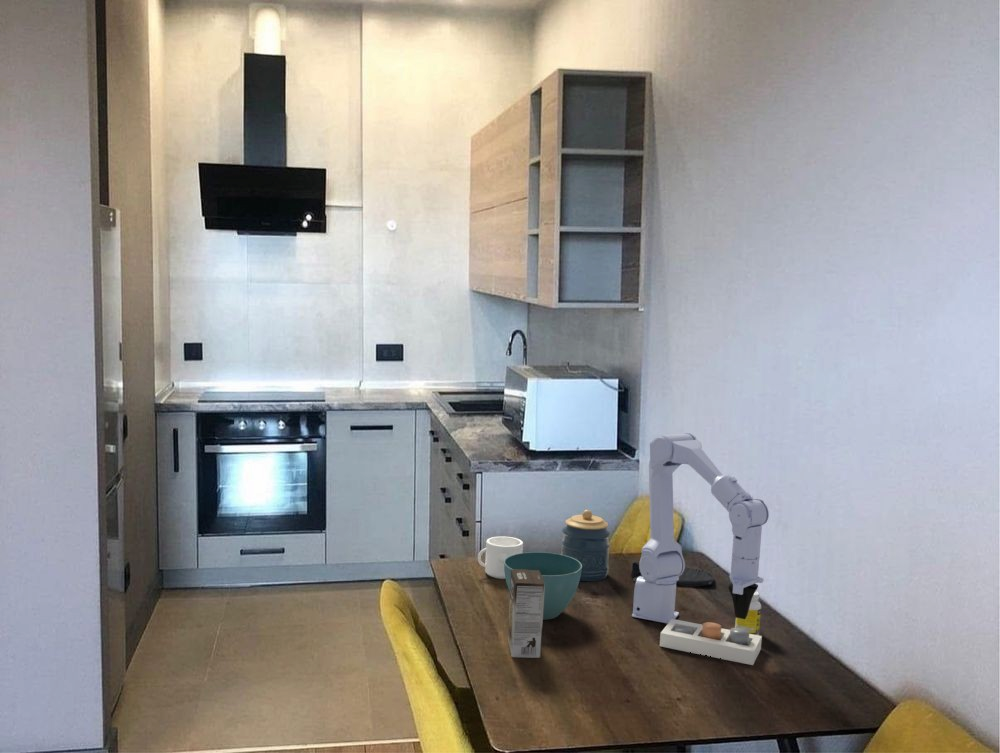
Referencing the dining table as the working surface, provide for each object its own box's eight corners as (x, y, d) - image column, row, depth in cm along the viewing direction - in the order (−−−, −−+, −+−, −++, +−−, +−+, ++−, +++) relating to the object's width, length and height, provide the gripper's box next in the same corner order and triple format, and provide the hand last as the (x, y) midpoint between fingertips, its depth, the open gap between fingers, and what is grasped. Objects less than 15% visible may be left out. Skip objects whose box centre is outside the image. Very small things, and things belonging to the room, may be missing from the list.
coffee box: (506, 641, 208) (510, 568, 207) (536, 641, 209) (540, 569, 207) (510, 657, 199) (514, 582, 198) (541, 658, 200) (545, 582, 198)
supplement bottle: (759, 639, 216) (763, 597, 215) (735, 636, 217) (738, 594, 216) (758, 630, 222) (761, 589, 221) (734, 628, 223) (737, 587, 222)
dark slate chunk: (714, 593, 249) (715, 575, 248) (628, 584, 253) (629, 566, 252) (712, 575, 264) (714, 558, 263) (632, 567, 268) (633, 550, 267)
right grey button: (727, 644, 206) (728, 632, 206) (731, 638, 210) (732, 626, 210) (746, 648, 205) (747, 635, 204) (749, 642, 208) (750, 629, 208)
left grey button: (672, 642, 211) (672, 630, 211) (676, 636, 215) (677, 624, 215) (690, 646, 210) (691, 633, 209) (694, 640, 213) (695, 628, 213)
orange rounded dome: (699, 639, 209) (700, 626, 208) (703, 633, 212) (704, 621, 212) (718, 642, 207) (719, 630, 207) (722, 636, 211) (723, 624, 210)
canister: (554, 567, 263) (558, 503, 261) (600, 566, 265) (604, 504, 263) (566, 582, 250) (570, 516, 248) (614, 582, 252) (618, 516, 250)
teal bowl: (533, 633, 213) (536, 579, 212) (486, 608, 228) (488, 557, 227) (594, 619, 224) (598, 568, 223) (546, 595, 239) (548, 547, 237)
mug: (481, 582, 247) (483, 548, 246) (472, 570, 256) (473, 537, 256) (526, 580, 250) (528, 546, 249) (515, 568, 260) (517, 535, 259)
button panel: (659, 646, 209) (660, 632, 209) (670, 631, 219) (671, 618, 218) (753, 665, 201) (754, 651, 201) (760, 649, 211) (761, 636, 210)
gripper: (759, 567, 197) (754, 631, 198) (770, 550, 210) (765, 610, 212) (724, 562, 200) (720, 625, 201) (737, 545, 213) (733, 604, 215)
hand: (741, 617), depth 207 cm, fingers closed
